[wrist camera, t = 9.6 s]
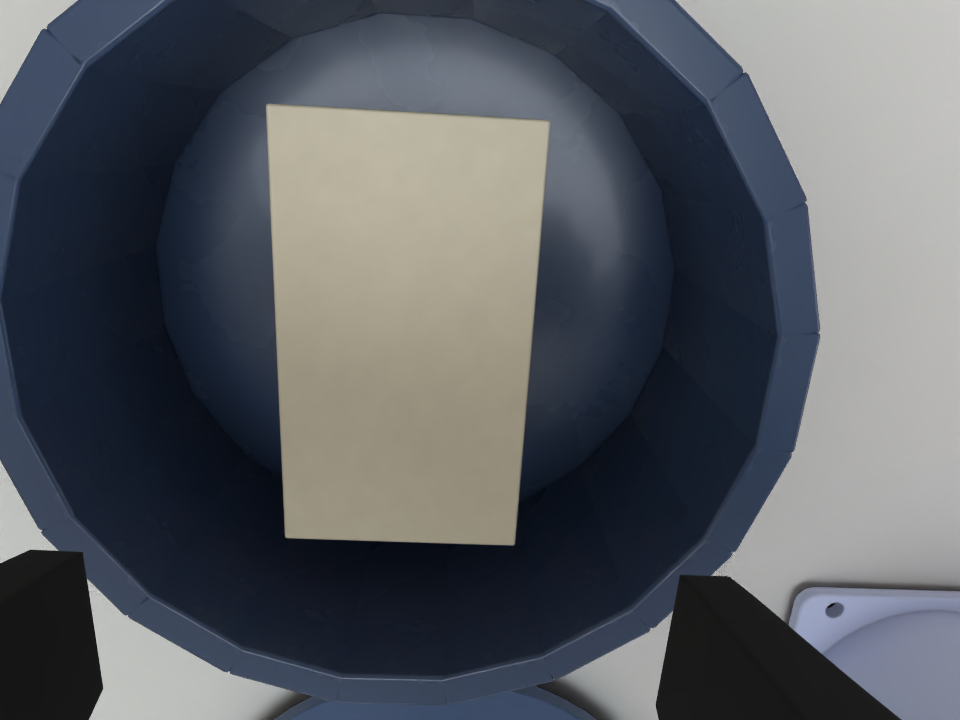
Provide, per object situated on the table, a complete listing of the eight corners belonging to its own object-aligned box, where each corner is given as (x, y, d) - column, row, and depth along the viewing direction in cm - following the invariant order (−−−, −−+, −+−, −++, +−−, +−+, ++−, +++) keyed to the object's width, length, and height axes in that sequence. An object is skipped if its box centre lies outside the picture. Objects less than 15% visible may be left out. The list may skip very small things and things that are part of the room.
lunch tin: (738, 3, 14) (917, -79, 9) (653, 537, 19) (736, 713, 13) (104, -39, 14) (-142, -155, 8) (166, 521, 18) (32, 698, 13)
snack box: (528, 122, 15) (550, 120, 11) (503, 455, 17) (515, 546, 13) (316, 110, 14) (264, 103, 11) (323, 449, 17) (284, 539, 13)
